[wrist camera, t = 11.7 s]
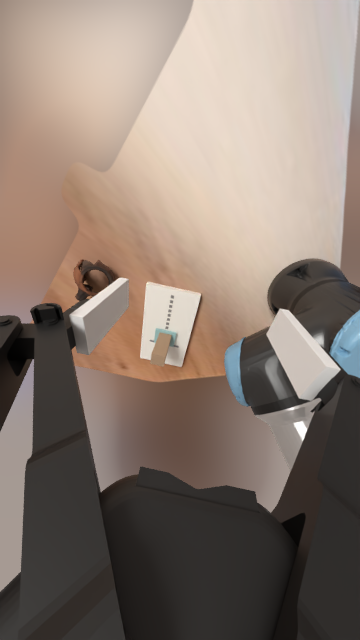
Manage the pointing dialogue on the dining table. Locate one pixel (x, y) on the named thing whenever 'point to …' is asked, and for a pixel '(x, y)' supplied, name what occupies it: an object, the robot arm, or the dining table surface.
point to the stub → (162, 346)
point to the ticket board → (168, 319)
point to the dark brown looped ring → (79, 279)
